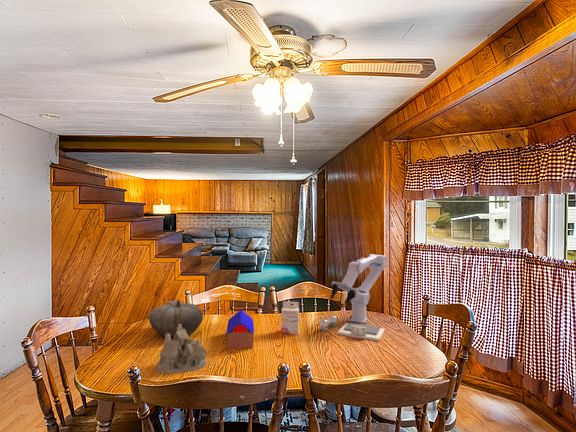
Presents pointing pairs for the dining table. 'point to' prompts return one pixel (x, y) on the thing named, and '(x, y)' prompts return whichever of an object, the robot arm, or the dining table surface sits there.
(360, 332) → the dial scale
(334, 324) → the spacer
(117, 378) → the dining table surface
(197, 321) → the gourd
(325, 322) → the spacer
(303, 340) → the dining table surface
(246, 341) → the house
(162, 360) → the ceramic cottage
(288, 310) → the ink cartridge box
